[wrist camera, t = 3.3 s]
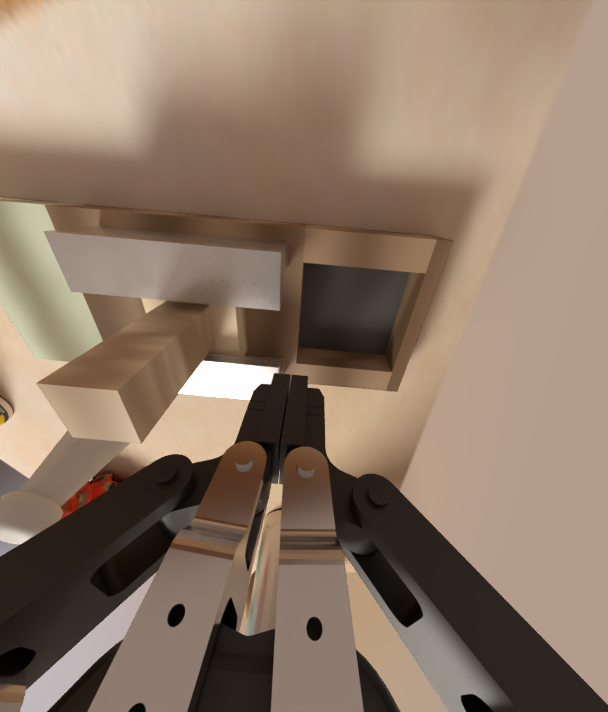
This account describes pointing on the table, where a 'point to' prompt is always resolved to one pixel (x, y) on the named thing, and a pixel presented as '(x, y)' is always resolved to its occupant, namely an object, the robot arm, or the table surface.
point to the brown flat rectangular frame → (264, 327)
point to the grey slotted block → (182, 285)
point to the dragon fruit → (88, 493)
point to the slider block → (141, 369)
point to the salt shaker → (53, 486)
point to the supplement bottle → (5, 411)
